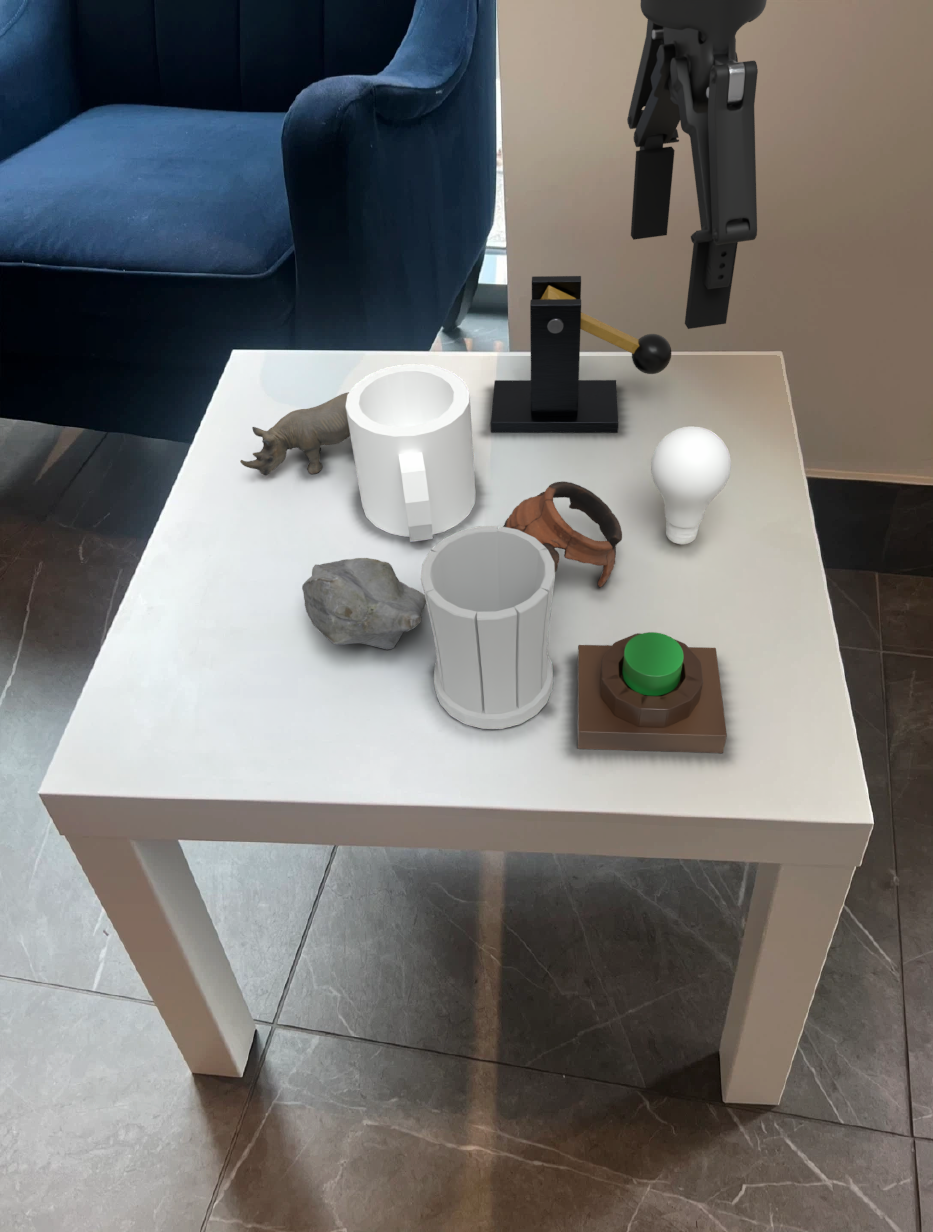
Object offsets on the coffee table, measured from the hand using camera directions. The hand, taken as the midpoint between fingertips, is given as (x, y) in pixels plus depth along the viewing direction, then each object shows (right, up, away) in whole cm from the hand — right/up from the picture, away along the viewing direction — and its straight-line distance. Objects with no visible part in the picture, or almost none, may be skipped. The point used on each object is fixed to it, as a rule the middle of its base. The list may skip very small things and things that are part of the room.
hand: (675, 277), depth 74 cm
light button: (-3, -29, -4) cm, 30 cm away
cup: (-14, -30, +1) cm, 33 cm away
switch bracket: (-7, -5, +24) cm, 25 cm away
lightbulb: (+3, -19, +10) cm, 22 cm away
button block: (-2, -32, -2) cm, 32 cm away
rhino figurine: (-30, -11, +20) cm, 37 cm away
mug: (-20, -16, +15) cm, 29 cm away
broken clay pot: (-9, -22, +8) cm, 25 cm away
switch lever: (-4, 0, +18) cm, 18 cm away
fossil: (-23, -27, +5) cm, 35 cm away
